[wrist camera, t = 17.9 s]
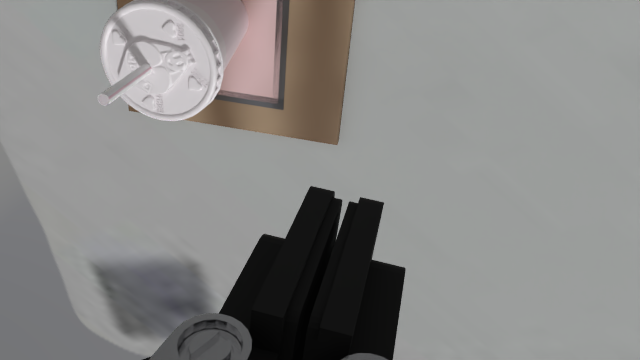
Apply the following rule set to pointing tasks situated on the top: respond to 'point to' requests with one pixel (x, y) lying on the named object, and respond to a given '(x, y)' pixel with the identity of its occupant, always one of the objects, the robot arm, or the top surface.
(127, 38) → the smoothie
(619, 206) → the top surface
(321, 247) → the robot arm
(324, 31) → the picture board
